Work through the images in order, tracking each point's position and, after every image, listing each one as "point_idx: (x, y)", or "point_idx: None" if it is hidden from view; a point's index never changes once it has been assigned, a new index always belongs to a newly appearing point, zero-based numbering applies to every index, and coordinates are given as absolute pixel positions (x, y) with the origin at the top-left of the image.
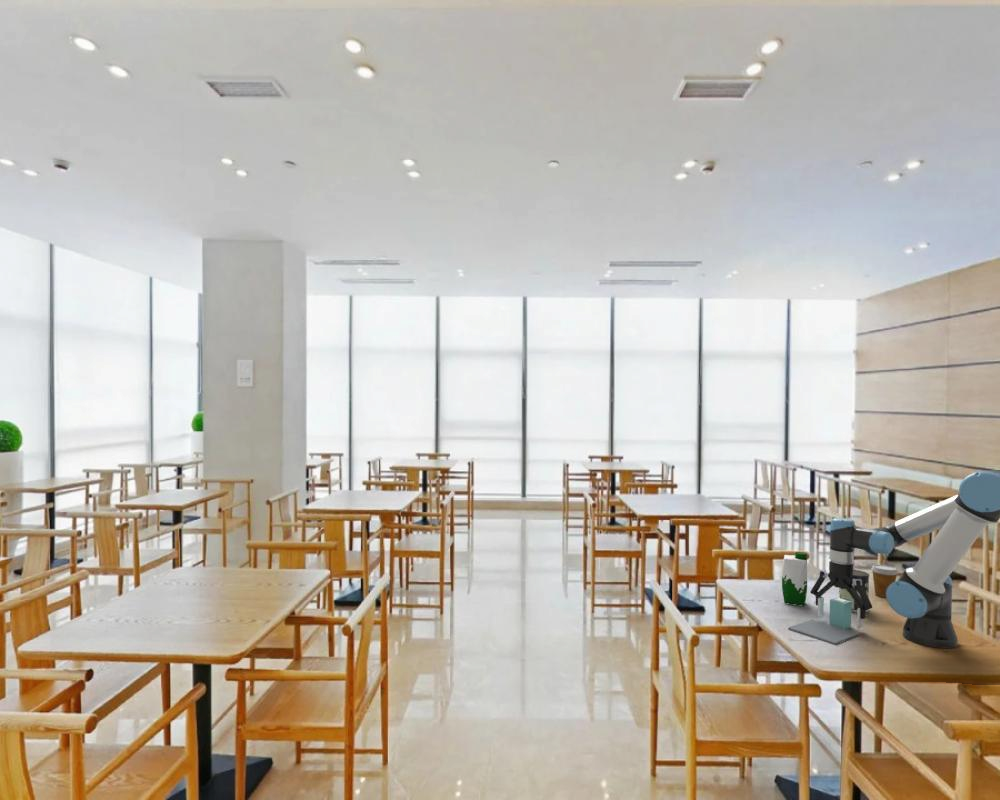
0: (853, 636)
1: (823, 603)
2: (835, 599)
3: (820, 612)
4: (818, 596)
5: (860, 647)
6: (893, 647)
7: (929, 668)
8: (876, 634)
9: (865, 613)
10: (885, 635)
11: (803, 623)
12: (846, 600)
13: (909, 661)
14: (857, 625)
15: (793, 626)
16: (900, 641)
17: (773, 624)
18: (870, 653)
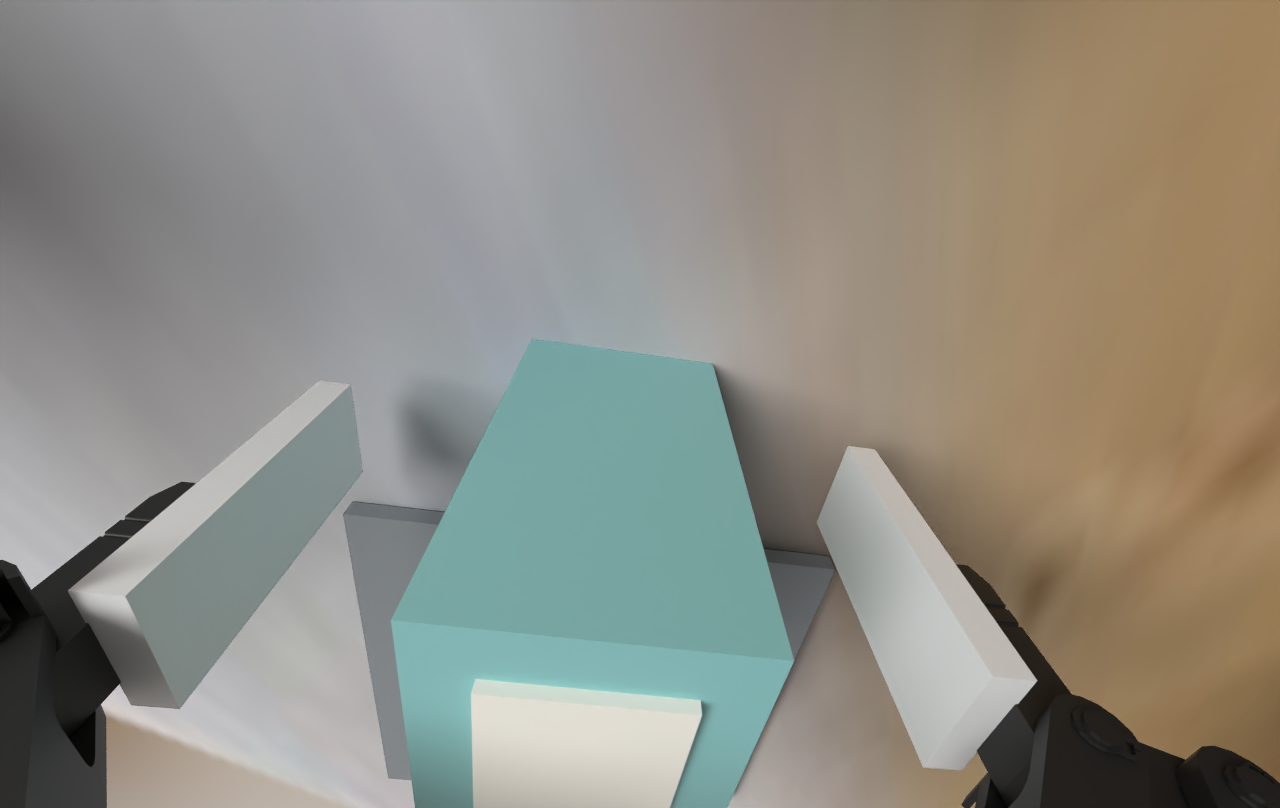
0: (800, 631)
1: (237, 498)
2: (484, 790)
3: (337, 485)
4: (105, 730)
5: (869, 744)
6: (1112, 615)
7: (1268, 768)
8: (998, 405)
9: (1022, 652)
10: (1101, 360)
11: (387, 660)
12: (690, 720)
13: (1166, 752)
14: (831, 543)
15: (393, 747)
16: (1235, 432)
17: (276, 753)
18: (932, 780)
